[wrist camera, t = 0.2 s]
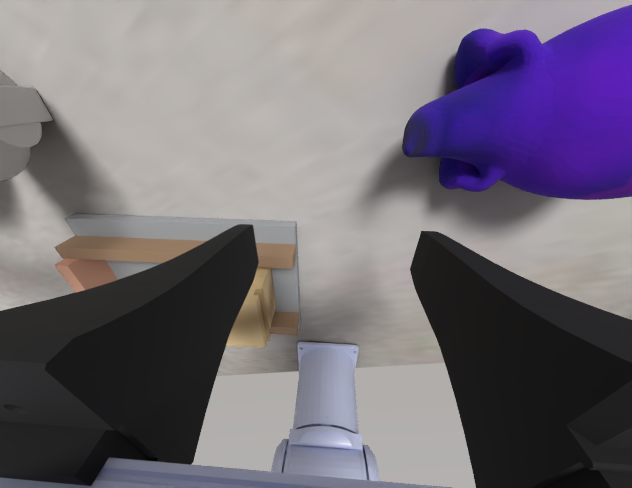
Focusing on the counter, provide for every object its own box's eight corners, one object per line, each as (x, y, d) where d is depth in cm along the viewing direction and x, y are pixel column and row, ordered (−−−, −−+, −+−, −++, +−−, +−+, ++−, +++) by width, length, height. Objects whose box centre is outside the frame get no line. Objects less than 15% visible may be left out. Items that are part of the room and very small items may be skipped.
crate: (277, 306, 25) (267, 348, 21) (221, 303, 26) (199, 344, 21) (272, 262, 22) (258, 301, 18) (207, 259, 22) (178, 297, 18)
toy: (382, 181, 19) (600, 172, 16) (395, 242, 11) (821, 247, 8) (390, 48, 15) (695, 2, 12) (420, -3, 7) (1387, -186, 4)
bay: (300, 322, 28) (295, 362, 24) (137, 313, 29) (104, 350, 25) (296, 221, 21) (287, 254, 16) (74, 213, 22) (12, 242, 17)
